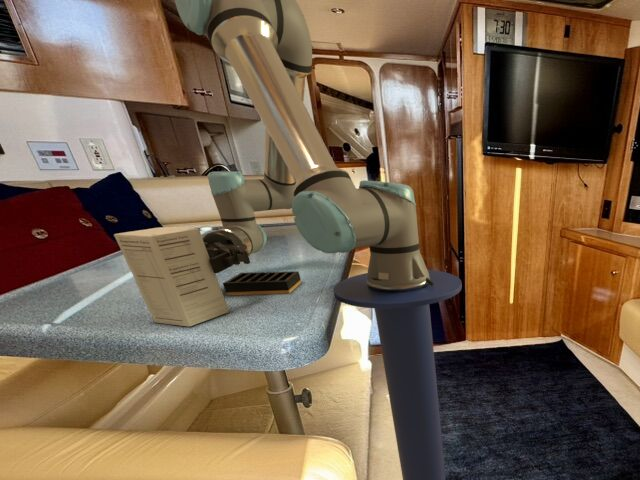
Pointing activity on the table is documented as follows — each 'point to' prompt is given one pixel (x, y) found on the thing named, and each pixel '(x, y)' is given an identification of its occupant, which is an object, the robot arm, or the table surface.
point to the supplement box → (173, 274)
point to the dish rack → (262, 283)
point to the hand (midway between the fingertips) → (175, 267)
